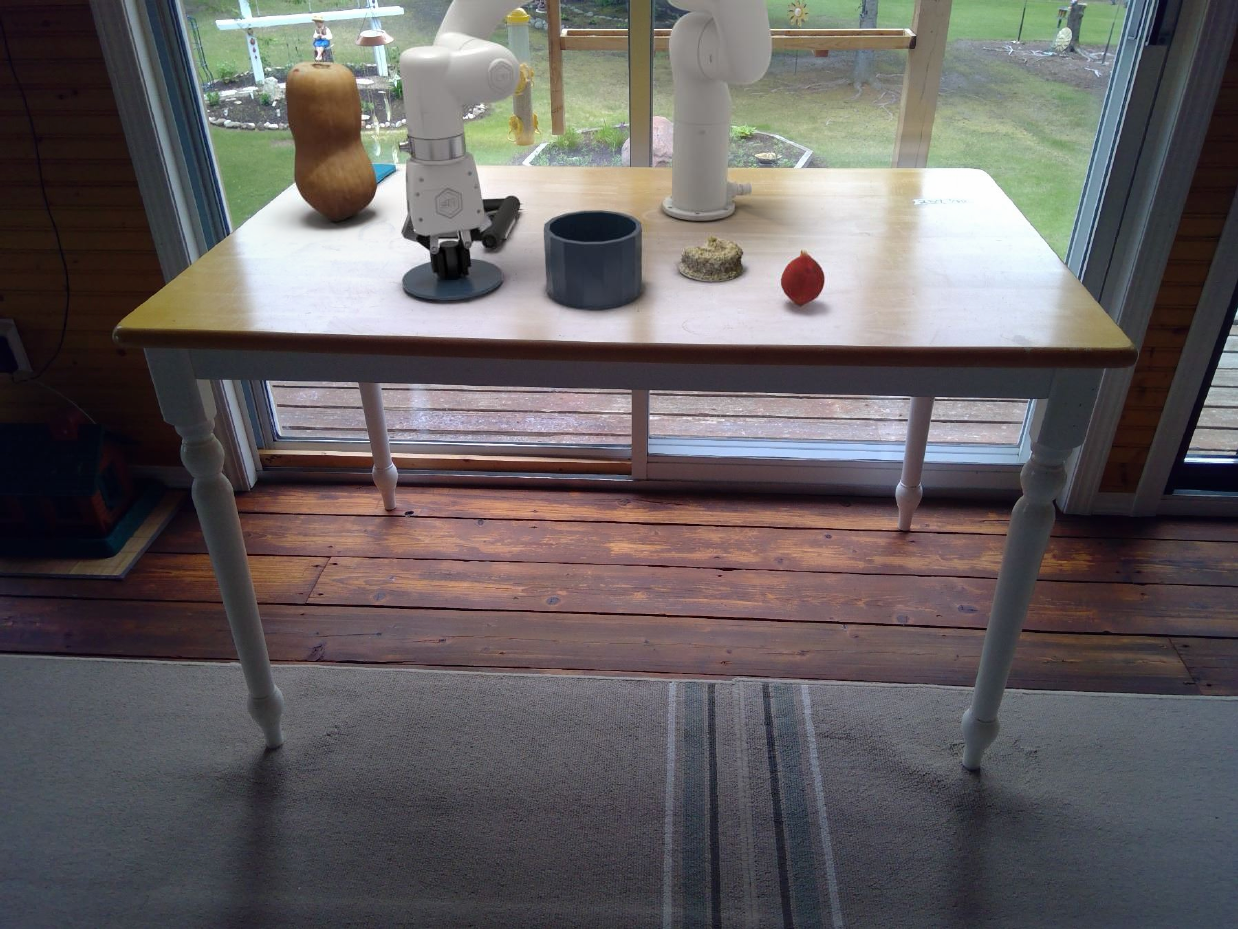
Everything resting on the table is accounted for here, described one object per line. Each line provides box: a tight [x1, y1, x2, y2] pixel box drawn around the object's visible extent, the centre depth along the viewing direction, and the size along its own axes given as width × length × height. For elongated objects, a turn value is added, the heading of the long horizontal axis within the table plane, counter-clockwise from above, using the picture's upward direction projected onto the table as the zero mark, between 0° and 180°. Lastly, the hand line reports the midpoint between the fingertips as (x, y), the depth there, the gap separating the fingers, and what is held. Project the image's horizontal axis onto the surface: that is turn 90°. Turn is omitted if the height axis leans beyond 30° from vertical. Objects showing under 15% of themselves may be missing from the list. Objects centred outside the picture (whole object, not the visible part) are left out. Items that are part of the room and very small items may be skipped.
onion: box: [780, 249, 826, 307], centre depth 128 cm, size 6×6×8 cm
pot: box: [543, 209, 643, 311], centre depth 133 cm, size 14×14×10 cm
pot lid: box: [401, 239, 504, 301], centre depth 137 cm, size 15×15×6 cm
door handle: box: [438, 195, 525, 250], centre depth 157 cm, size 3×20×16 cm
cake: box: [677, 235, 744, 283], centre depth 140 cm, size 10×10×5 cm
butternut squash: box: [284, 61, 378, 223], centre depth 156 cm, size 14×13×25 cm
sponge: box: [372, 163, 397, 184], centre depth 182 cm, size 2×12×6 cm
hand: (452, 273), depth 137 cm, fingers closed on pot lid, 2 cm apart
